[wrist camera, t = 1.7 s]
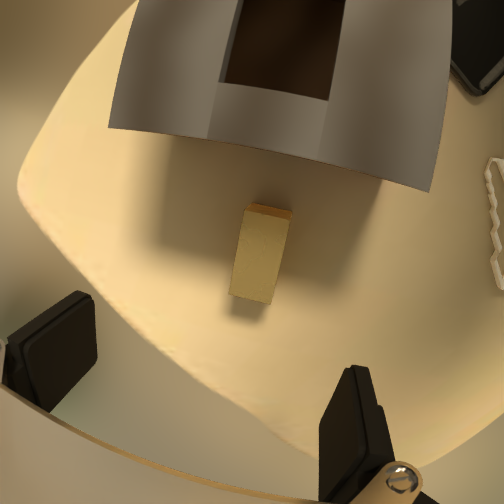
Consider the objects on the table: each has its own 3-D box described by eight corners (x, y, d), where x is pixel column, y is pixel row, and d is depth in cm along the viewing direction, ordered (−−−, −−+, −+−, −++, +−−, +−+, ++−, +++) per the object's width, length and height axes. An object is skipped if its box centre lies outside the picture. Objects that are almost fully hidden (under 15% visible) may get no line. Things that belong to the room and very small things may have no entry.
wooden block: (292, 211, 23) (290, 220, 20) (275, 285, 25) (270, 304, 22) (252, 202, 24) (244, 210, 20) (238, 276, 25) (228, 294, 22)
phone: (545, 29, 13) (479, 100, 17) (539, 31, 14) (472, 102, 18) (492, -36, 12) (411, 21, 17) (487, -31, 13) (407, 26, 18)
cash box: (409, 15, 17) (450, -38, 9) (383, 179, 21) (428, 192, 13) (210, -19, 18) (171, -78, 10) (173, 135, 23) (107, 127, 14)
